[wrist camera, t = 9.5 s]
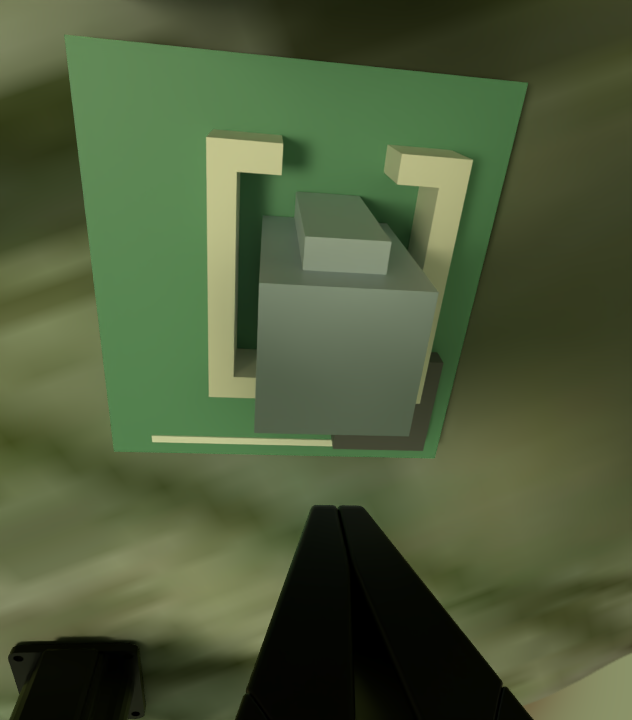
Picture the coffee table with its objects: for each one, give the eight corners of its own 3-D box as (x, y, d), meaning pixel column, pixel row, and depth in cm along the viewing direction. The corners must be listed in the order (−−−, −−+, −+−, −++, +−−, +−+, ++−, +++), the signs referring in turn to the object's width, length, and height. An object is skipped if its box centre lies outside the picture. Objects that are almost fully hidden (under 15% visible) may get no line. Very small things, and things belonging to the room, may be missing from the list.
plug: (370, 334, 19) (409, 436, 14) (258, 329, 18) (254, 433, 13) (390, 198, 17) (446, 257, 11) (263, 189, 16) (260, 246, 11)
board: (427, 440, 23) (448, 491, 20) (121, 432, 22) (99, 486, 19) (511, 81, 16) (561, 84, 14) (78, 37, 15) (34, 30, 12)
